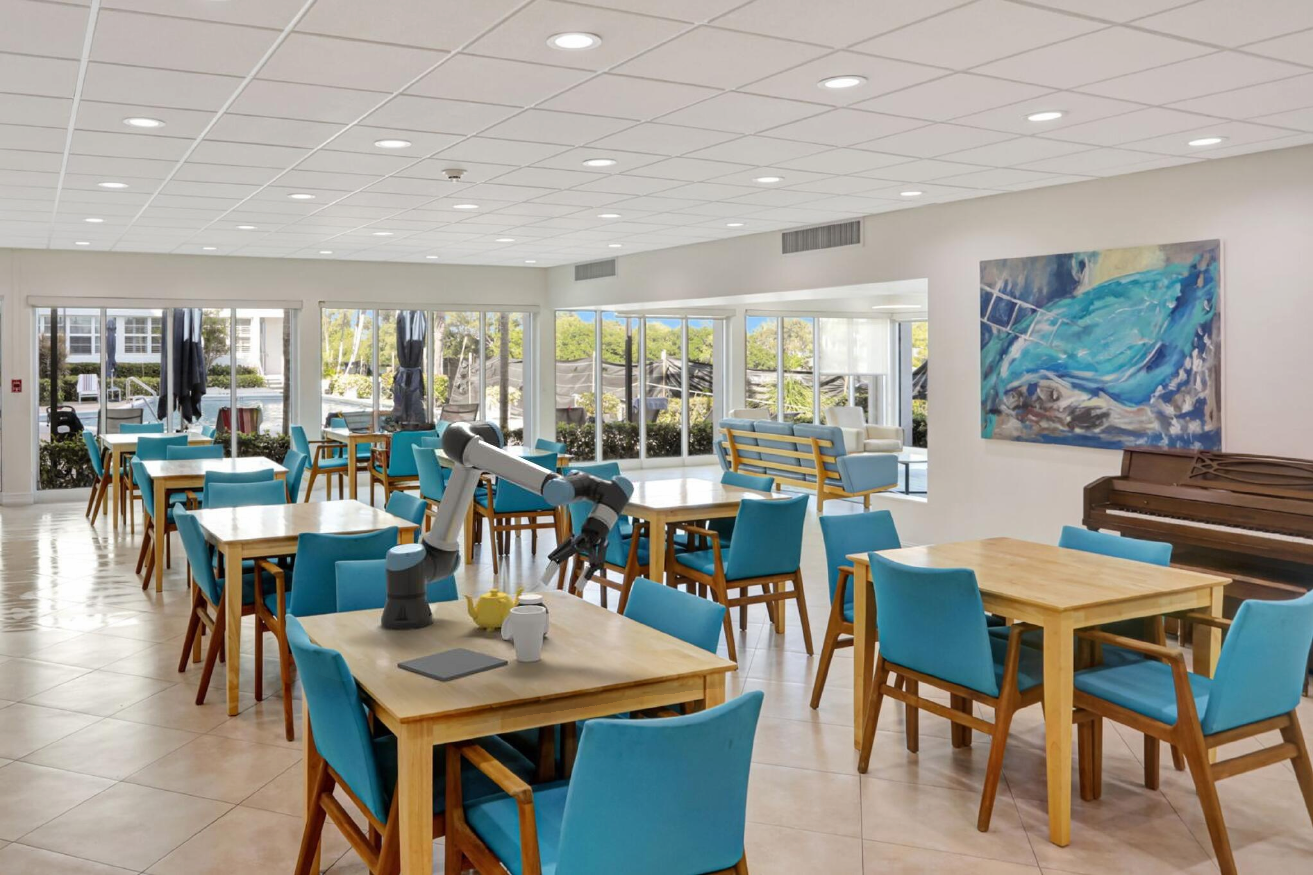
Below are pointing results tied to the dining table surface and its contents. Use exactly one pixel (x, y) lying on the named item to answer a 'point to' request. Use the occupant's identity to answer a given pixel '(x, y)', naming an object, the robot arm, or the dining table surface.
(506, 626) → the spread jar
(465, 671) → the rubber mat
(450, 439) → the robot arm
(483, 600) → the teapot
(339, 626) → the dining table surface
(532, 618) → the foam cup
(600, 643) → the dining table surface
